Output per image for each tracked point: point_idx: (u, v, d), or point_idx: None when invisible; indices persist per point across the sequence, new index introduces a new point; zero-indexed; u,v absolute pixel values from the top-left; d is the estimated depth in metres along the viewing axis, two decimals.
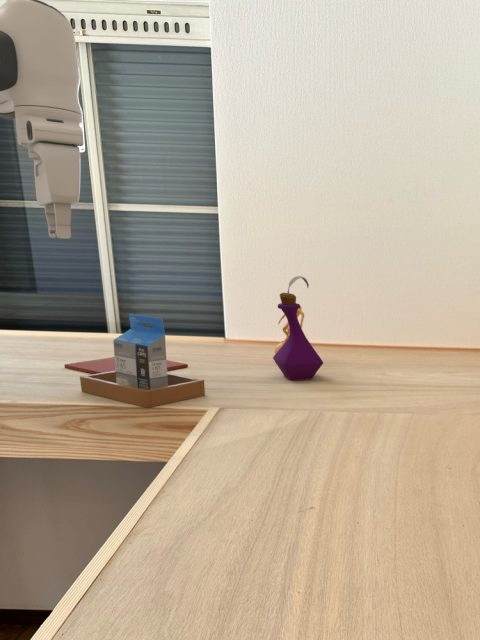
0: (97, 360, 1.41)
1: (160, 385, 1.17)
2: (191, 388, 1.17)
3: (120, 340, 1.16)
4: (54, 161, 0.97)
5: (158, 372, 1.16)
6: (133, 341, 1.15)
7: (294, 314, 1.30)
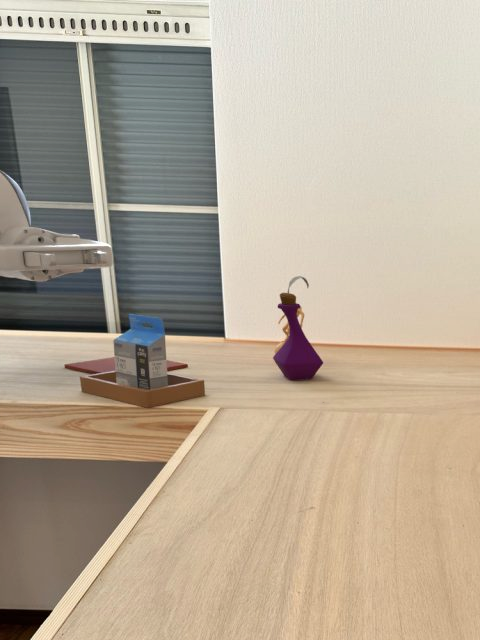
0: (97, 360, 1.41)
1: (160, 385, 1.17)
2: (191, 388, 1.17)
3: (120, 340, 1.16)
4: None
5: (158, 372, 1.16)
6: (133, 341, 1.15)
7: (294, 314, 1.30)
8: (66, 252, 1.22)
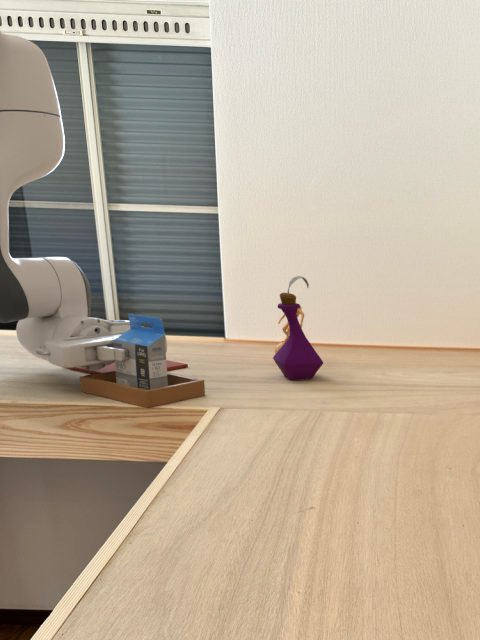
0: None
1: (160, 385, 1.17)
2: (191, 388, 1.17)
3: (120, 340, 1.16)
4: None
5: (158, 372, 1.16)
6: (133, 341, 1.15)
7: (294, 314, 1.30)
8: None
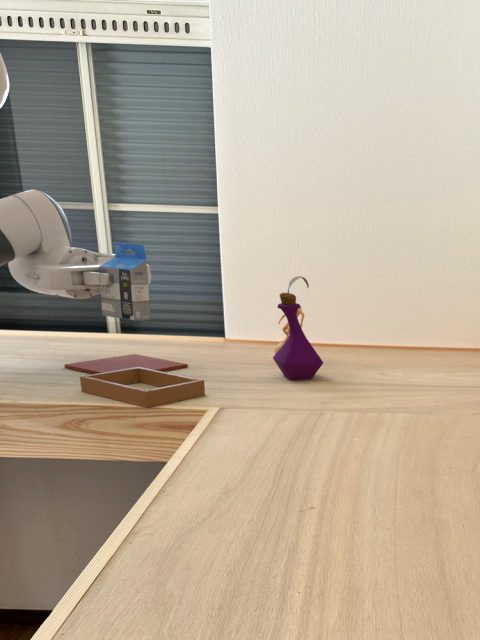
0: (97, 360, 1.41)
1: (142, 309, 1.24)
2: (191, 388, 1.17)
3: (105, 266, 1.24)
4: None
5: (140, 295, 1.23)
6: (117, 266, 1.23)
7: (294, 314, 1.30)
8: None
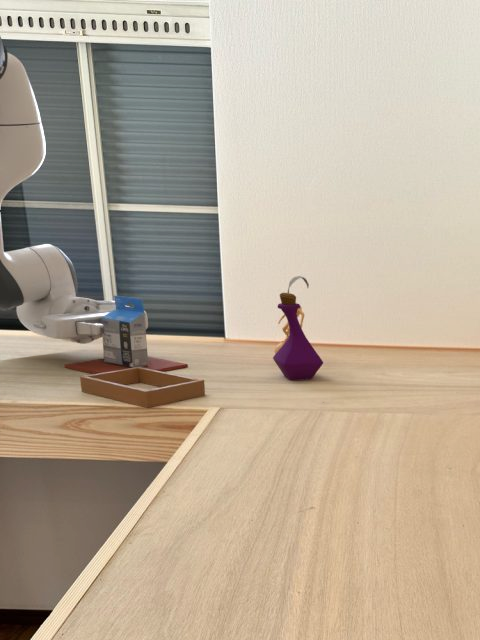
0: (97, 360, 1.41)
1: (141, 356, 1.36)
2: (191, 388, 1.17)
3: (107, 318, 1.36)
4: None
5: (138, 345, 1.35)
6: (118, 318, 1.35)
7: (294, 314, 1.30)
8: None
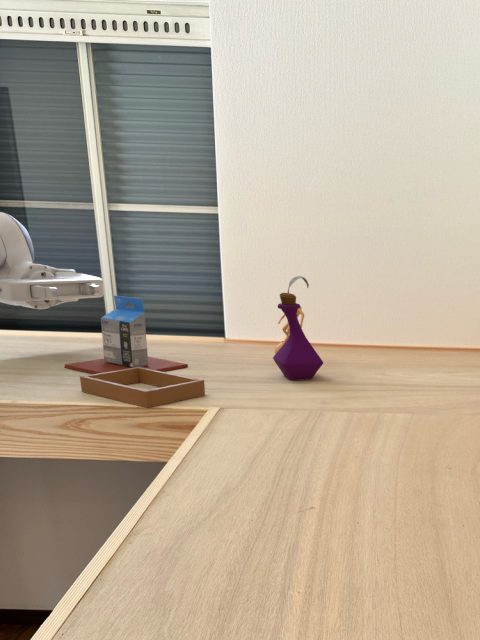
0: (97, 360, 1.41)
1: (141, 356, 1.36)
2: (191, 388, 1.17)
3: (107, 318, 1.36)
4: None
5: (138, 345, 1.35)
6: (118, 318, 1.35)
7: (294, 314, 1.30)
8: (65, 285, 1.44)
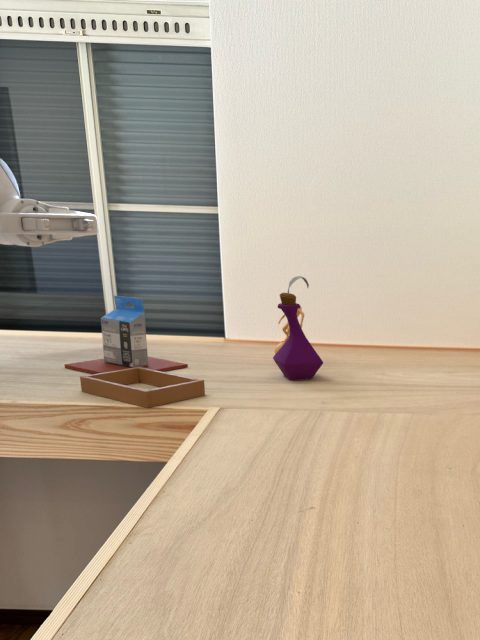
0: (97, 360, 1.41)
1: (141, 356, 1.36)
2: (191, 388, 1.17)
3: (107, 318, 1.36)
4: None
5: (138, 345, 1.35)
6: (118, 318, 1.35)
7: (294, 314, 1.30)
8: (57, 220, 1.40)
